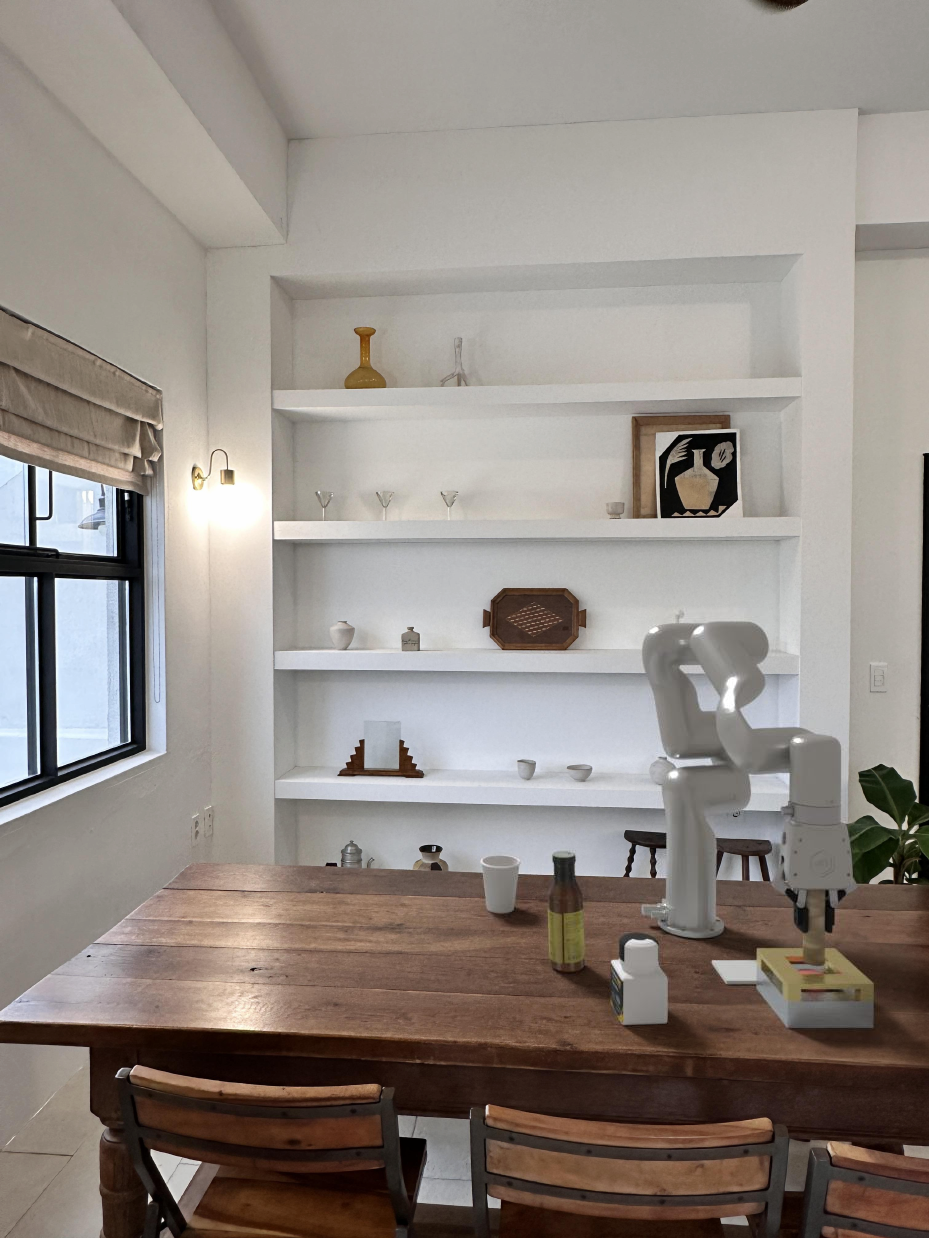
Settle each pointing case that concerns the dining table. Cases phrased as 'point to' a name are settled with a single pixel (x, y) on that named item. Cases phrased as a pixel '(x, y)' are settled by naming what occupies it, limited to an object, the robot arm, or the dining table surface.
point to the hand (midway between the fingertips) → (813, 928)
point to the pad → (737, 971)
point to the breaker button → (811, 971)
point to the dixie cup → (500, 882)
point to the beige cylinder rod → (815, 929)
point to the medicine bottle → (639, 981)
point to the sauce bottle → (565, 916)
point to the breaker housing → (831, 1009)
